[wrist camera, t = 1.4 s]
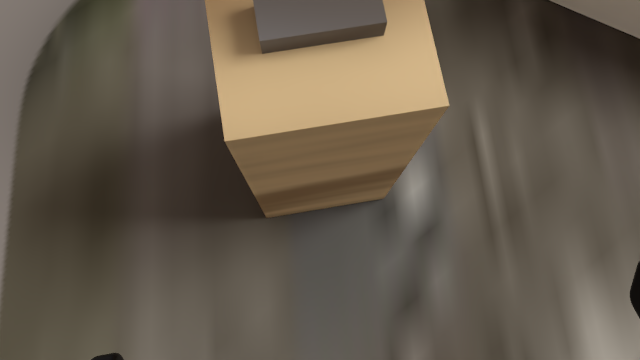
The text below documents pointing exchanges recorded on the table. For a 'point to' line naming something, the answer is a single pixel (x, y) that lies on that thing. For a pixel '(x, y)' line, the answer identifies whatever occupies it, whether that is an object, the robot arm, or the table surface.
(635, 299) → the robot arm
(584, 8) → the wall board
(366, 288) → the table surface
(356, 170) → the tan rectangular block
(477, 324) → the table surface
